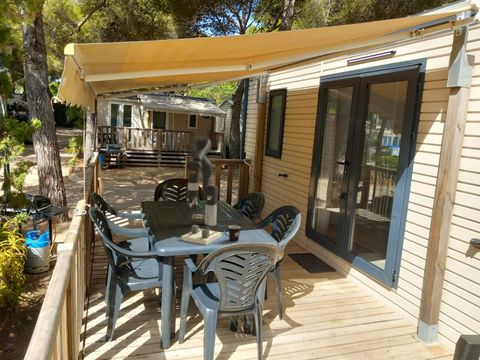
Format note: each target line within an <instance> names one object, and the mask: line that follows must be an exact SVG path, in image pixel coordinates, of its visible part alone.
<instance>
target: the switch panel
mask: <svg viewBox="0 0 480 360" xmlns="http://www.w3.org/2000/svg"><path fill="white" fill-rule="evenodd" d="M203 229H204V228H199V232H198V233H191V231H190V232H188V233H185V234H184V235H181V241H184V242H188V243H189V242H190V243H193V244H194V243H195V244H198V245H199V244H200V245H208V244H211V243H213V242H214V241H216V240H217V239H219V238H221V237H222V232H221V231H216V230H210V229H208V230H209V237H208V238H204V237H202V230H203Z"/></svg>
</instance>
